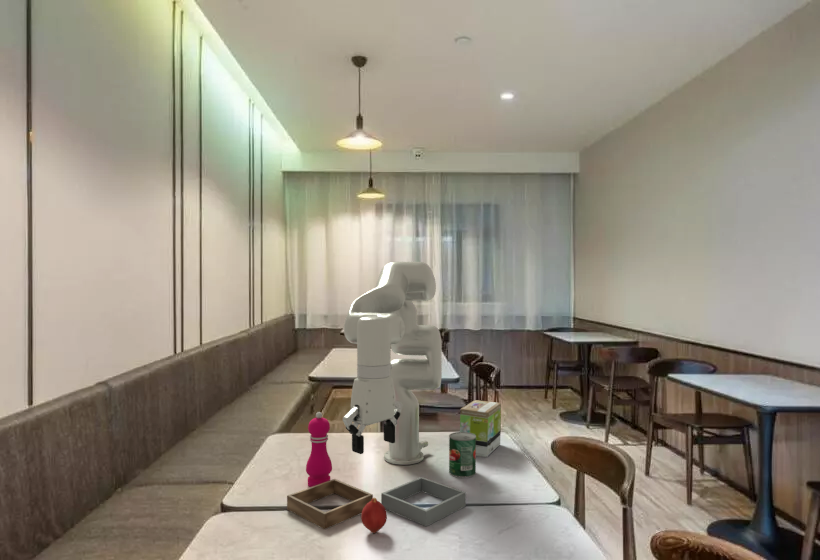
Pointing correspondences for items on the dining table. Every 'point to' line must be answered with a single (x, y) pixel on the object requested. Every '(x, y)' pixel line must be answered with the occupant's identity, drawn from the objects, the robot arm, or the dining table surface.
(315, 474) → the pepper mill
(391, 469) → the dining table surface
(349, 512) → the walnut bin
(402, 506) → the grey bin
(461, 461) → the canned tomato
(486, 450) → the tea box
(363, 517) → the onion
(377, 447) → the dining table surface
